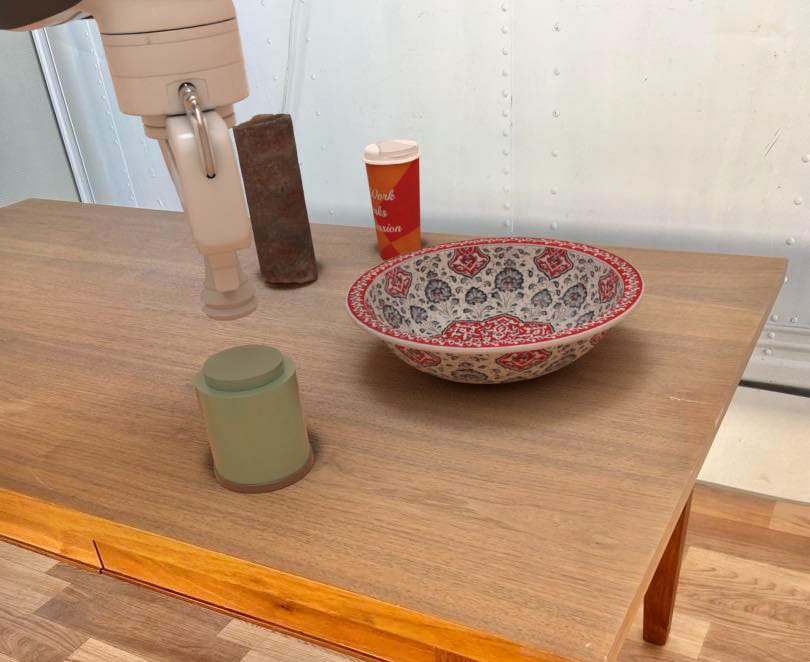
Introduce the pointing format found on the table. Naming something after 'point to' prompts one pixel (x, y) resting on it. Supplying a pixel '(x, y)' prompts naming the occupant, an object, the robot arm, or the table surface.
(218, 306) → the rook chess piece
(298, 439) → the upturned tumbler
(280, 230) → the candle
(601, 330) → the ceramic bowl
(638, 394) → the table surface
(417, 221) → the paper cup
